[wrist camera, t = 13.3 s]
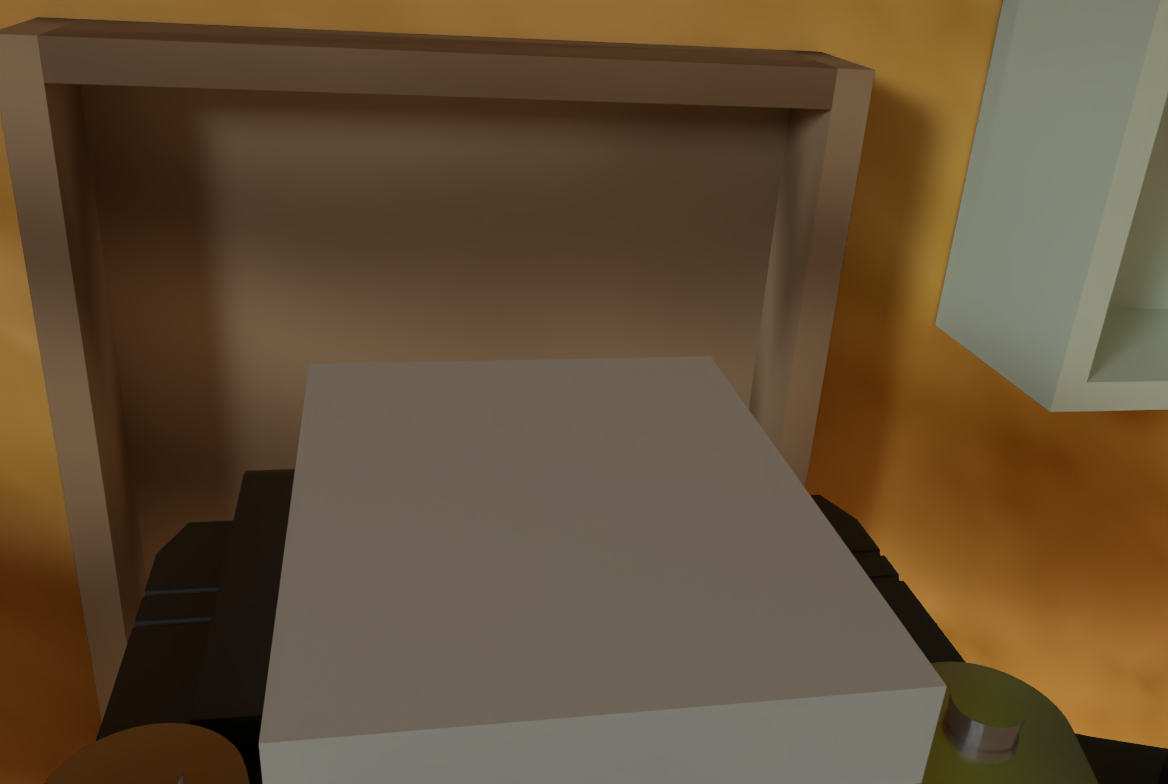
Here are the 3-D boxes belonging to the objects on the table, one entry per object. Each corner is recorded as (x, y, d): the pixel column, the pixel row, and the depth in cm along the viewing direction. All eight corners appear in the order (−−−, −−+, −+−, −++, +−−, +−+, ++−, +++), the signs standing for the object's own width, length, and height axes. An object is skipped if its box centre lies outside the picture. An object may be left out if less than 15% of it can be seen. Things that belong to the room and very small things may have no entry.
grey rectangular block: (308, 363, 10) (259, 742, 6) (710, 356, 11) (947, 686, 6) (328, 690, 12) (300, 1180, 7) (673, 665, 12) (839, 1094, 8)
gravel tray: (38, 17, 18) (-13, 33, 16) (820, 51, 21) (875, 70, 18) (158, 838, 26) (135, 929, 24) (713, 789, 29) (741, 867, 26)
